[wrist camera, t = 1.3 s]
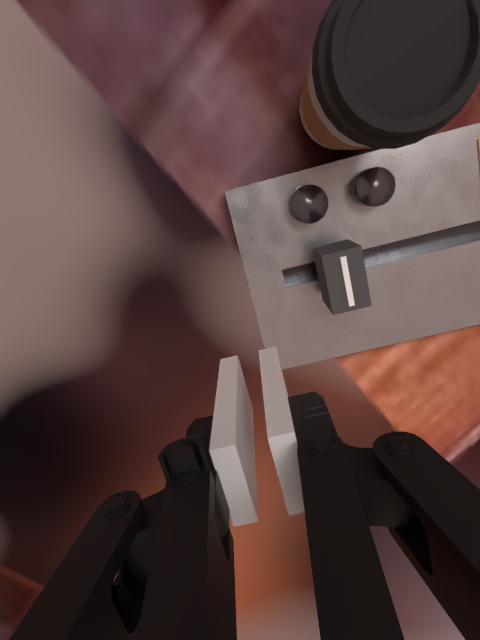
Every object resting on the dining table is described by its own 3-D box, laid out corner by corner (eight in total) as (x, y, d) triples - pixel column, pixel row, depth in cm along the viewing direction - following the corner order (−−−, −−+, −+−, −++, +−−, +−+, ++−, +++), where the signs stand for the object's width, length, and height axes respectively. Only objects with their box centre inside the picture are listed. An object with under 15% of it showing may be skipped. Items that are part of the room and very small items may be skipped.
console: (225, 191, 35) (223, 191, 31) (568, 99, 33) (616, 85, 29) (268, 361, 40) (272, 382, 36) (572, 290, 38) (614, 303, 33)
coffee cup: (410, 118, 34) (536, 66, 19) (323, 184, 35) (380, 181, 21) (354, 21, 32) (448, -117, 17) (265, 95, 33) (283, 25, 19)
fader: (306, 243, 36) (321, 256, 29) (339, 235, 35) (362, 246, 28) (316, 292, 37) (333, 316, 30) (348, 284, 37) (372, 306, 30)
